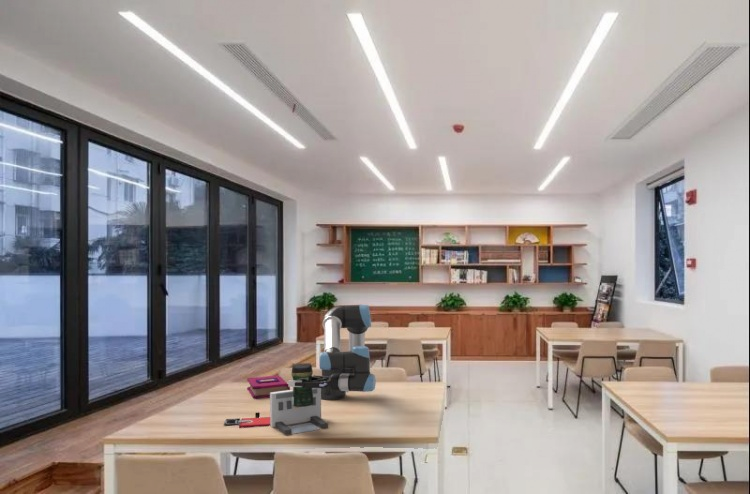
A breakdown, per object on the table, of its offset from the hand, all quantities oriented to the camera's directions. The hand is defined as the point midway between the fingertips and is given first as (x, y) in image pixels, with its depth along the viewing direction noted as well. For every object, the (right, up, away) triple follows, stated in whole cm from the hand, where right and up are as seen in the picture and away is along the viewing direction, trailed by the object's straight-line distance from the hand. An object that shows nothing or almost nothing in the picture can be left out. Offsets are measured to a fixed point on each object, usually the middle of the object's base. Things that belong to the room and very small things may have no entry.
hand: (292, 381), depth 224 cm
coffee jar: (+5, -11, -2) cm, 12 cm away
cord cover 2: (+12, -21, +4) cm, 24 cm away
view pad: (+5, -21, -2) cm, 21 cm away
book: (-27, -26, +72) cm, 81 cm away
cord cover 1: (-3, -21, -4) cm, 21 cm away
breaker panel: (+1, -21, +8) cm, 23 cm away
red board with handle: (-18, -23, +10) cm, 31 cm away
